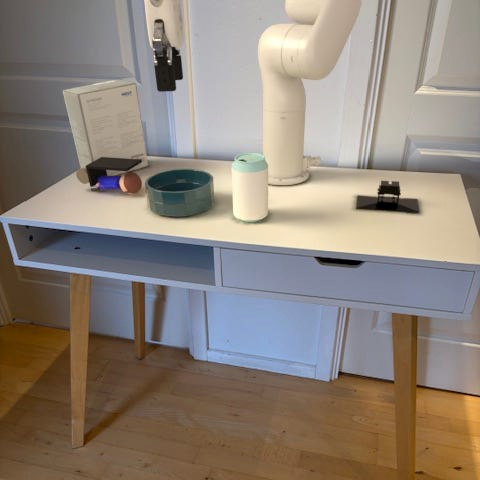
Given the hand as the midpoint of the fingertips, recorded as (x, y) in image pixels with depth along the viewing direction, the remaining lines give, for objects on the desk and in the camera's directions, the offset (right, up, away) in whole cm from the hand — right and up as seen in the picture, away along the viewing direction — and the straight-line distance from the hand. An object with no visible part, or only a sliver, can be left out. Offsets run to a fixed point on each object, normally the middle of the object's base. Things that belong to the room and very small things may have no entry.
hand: (171, 85), depth 88 cm
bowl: (0, -17, +18) cm, 25 cm away
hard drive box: (-19, -4, +38) cm, 43 cm away
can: (+15, -21, +12) cm, 28 cm away
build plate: (+43, -18, +15) cm, 49 cm away
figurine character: (-17, -12, +26) cm, 33 cm away
